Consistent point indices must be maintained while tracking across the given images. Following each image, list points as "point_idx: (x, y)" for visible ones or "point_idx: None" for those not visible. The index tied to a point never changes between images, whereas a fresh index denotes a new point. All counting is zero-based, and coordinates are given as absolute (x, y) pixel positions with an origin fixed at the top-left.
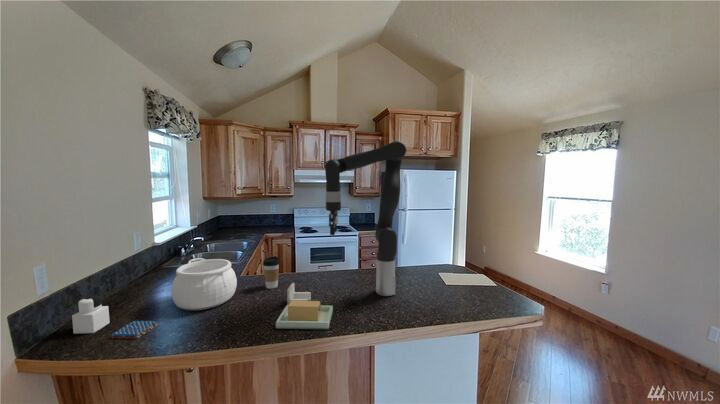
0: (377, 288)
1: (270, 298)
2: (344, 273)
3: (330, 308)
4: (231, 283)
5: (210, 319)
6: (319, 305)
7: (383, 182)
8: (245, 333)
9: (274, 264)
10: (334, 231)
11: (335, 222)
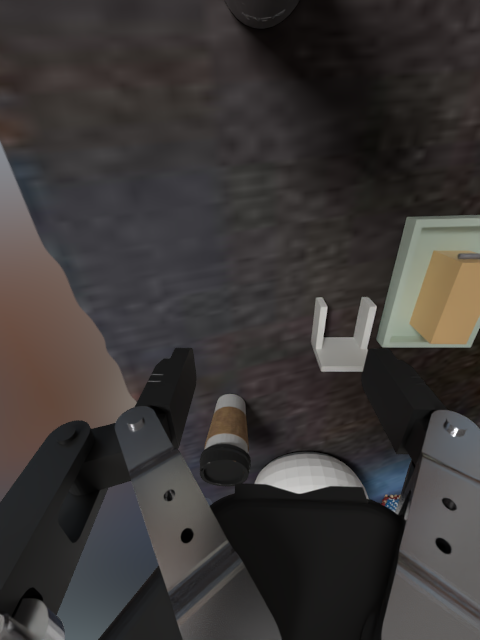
0: (285, 6)
1: (302, 388)
2: (75, 218)
3: (435, 224)
4: (323, 483)
5: (386, 447)
6: (471, 260)
7: None
8: (460, 384)
9: (243, 453)
10: (405, 372)
11: (466, 475)
